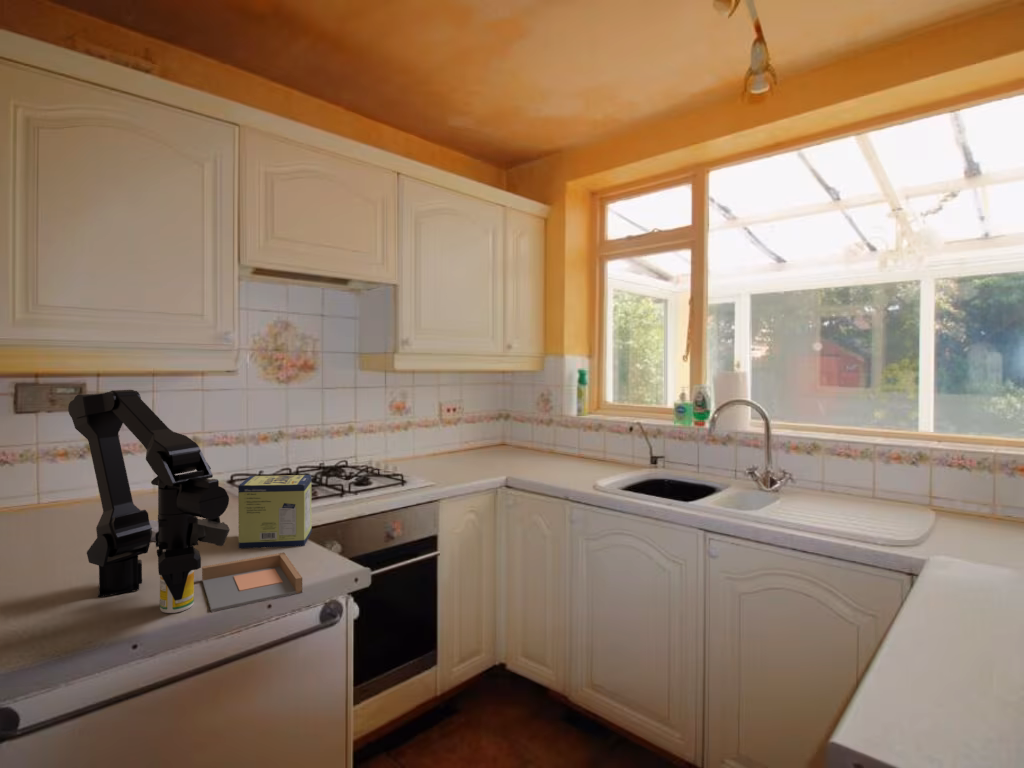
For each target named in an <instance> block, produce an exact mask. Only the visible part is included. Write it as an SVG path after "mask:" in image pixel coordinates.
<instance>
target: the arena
mask: <svg viewBox="0 0 1024 768" xmlns="http://www.w3.org/2000/svg"><path fill="white" fill-rule="evenodd" d="M201 581H202V585H203V588H204V592H205V595H206V599H207V602H208V605H209V608H210V612H211V613H212V612H217V611H221V610H227V609H230V608H231V609H232V608H237V607H240V606H245V605H246V606H247V605H250V604H254V603H258V602H264V601H267V600H274V599H279V598H283V597H286V596H291V595H297V594H301V593H303V576H302V575H301V574H300V573H299V571H298V570H297V568H296V567H295V565H294V564H293V563H292V561H291V560H290V558H289V557H288V555H286V553H285V552H280V553H279V552H278V553H273V554H267V555H260V556H256V557H255V556H254V557H250V558H244V559H238V560H231V561H227V562H220V563H214V564H209V565H203V566H202V565H201Z"/></svg>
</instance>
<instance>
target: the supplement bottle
mask: <svg viewBox="0 0 1024 768" xmlns="http://www.w3.org/2000/svg"><path fill="white" fill-rule="evenodd" d="M194 595H195V570H191V571H190V572H189V574H188V577H187V581H186V584H185V588H184V592H183V596H182V599H181V600H174V598H173V596H172V594H171V592H170V590H169V589H168V587H167V585H166V583H165V581H164V579H163V578H162V576H161V575H159V609H160V611H161V612H162V613H165V614H174V613H175V614H176V613H180V612H184V611H186V610H188V609H190V608H191V607H192V606H193V605H194V603H195V596H194Z"/></svg>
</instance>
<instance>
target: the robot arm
mask: <svg viewBox="0 0 1024 768" xmlns="http://www.w3.org/2000/svg"><path fill="white" fill-rule="evenodd" d="M67 410H68V414H69V416H70V418H71V419H72V423H73V426H74V429H76V431H77V432H78V433H80V435H82V437H84V438H85V439H86V440H87V442H88V445H89V451H90V455H91V460H92V465H93V470H94V474H95V478H96V483H97V489H98V492H99V493H98V494H99V497H100V501H101V507H102V514H101V516H100V518H99V521H98V523H97V525H96V527H95V528H96V529H95V531H96V538H95V540H94V542H93V543H92V544H91V546H90V547H89V548H88V549H87V551H86V555H87V560H88V563H89V564H93V565H95V566H98V593H97V597H98V598H102V597H108V596H113V595H119V594H124V593H130V592H136V591H139V590H140V585H141V584H142V583H143V560H142V559H139V555H143V554H148V553H149V548H150V544H151V542H152V541H151V537H152V530H151V529H152V527H151V525H150V522H149V521H150V518H149V512H148V511H147V509H142V510H141V509H140V508H139V507H137V505H135V504H134V501H133V496H132V491H131V487H130V482H129V477H128V473H127V469H126V464H125V459H124V454H123V449H122V445H121V440H120V436H119V433H120V430H121V428H122V427H123V425H124V426H125V427H126V428H127V429H128V430H129V431H130V432H131V433H132V434H133V436H135V438H136V439H137V440H138V441H139V442H140V443H141V445H142V446H143V447H144V448H145V450H146V451H145V452H146V454H145V460H146V462H147V463H148V465H149V467H150V469H152V472H153V473H154V474H155V475H156V476H155V477H154V478H153V479H152V480H151V482H150V483H151V485H153V486H157V501H158V502H157V509H158V511H157V513H158V514H157V521H158V532H157V533H156V534H155V536H156V541H155V548H158V549H156V556H157V562H158V563H157V564H158V565H157V566H158V567H157V569H158V575H159V576H160V575H161V576H162V578H163V579H164V581H165V583H166V585H167V587H168V589H169V590H170V592H171V594H172V596H173V598H174V600H181V599H182V596H183V592H184V588H185V584H186V581H187V577H188V574H189V572H190V571H191V570H194V571H196V570H200V569H202V556H201V553H200V551H199V549H196V548H195V547H194V546H199V542H201V543H207V544H213V545H215V546H216V547H217V546H218V547H224V545H225V542H226V540H227V537H228V536H229V532H230V530H231V529H230V527H229V525H228V524H226V523H225V522H224V521H222V522H221V518H220V517H221V516H222V515H223V514H224V513H225V512H226V510H227V508H228V507H229V503H230V496H229V494H228V492H227V491H226V489H225V488H224V487H222V486H219V484H220V483H219V482H220V481H219V479H217V478H214V477H213V476H214V474H213V472H212V471H211V469H212V468H211V466H210V464H209V463H208V461H207V460H206V457H205V456H204V454H203V451H202V450H201V448H200V446H199V445H198V443H196V442H195V441H194V439H191V438H190V437H188V436H187V435H186V434H183V433H180V432H177V431H176V432H175V431H173V430H172V429H170V428H169V427H168V425H167V424H165V423H164V421H162V420H161V418H160V417H159V416H158V415H157V414H156V413H155V412H154V411H153V410H152V409H151V407H149V406H148V404H146V402H144V401H143V400H142V398H141V394H140V392H138V391H137V390H134V389H116V390H115V389H114V390H113V389H111V390H109V391H107V392H102V393H101V392H98V393H82V394H81V393H79V394H76V396H74V398H73V399H72V400H71V401H70V402H69V403H68V409H67ZM201 518H202V519H201Z"/></svg>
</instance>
